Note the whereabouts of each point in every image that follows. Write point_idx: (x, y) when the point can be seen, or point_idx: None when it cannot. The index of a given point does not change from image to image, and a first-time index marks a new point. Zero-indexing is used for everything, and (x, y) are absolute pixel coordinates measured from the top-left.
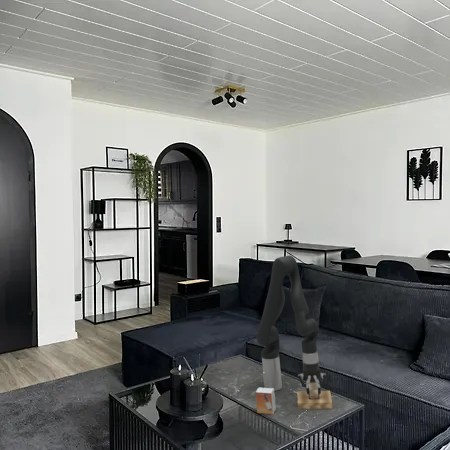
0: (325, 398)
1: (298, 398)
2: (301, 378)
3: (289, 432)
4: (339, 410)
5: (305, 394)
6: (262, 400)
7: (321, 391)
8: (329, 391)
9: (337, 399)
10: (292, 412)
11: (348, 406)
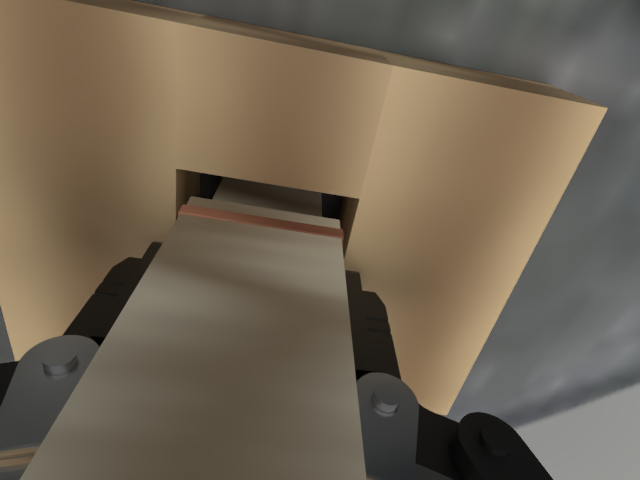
0: (409, 331)
1: (2, 257)
2: None
3: None
4: (476, 390)
5: (113, 151)
6: None
7: (439, 103)
8: (580, 141)
9: (589, 192)
10: (5, 348)
11: (599, 350)
